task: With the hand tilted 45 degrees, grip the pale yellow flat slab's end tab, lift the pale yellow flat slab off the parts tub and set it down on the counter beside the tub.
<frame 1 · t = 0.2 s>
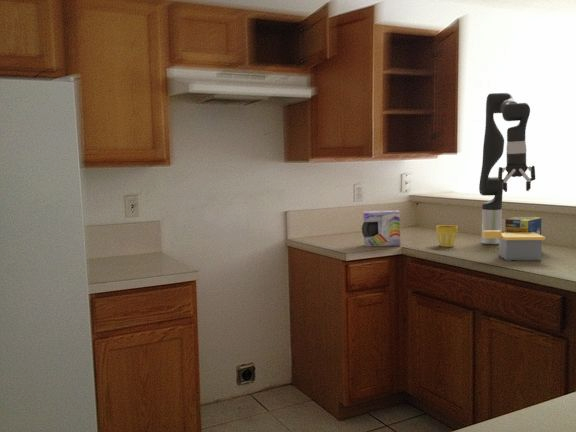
hand: (516, 191, 231), 29 cm above the counter, tool pointing down, fingers open, 8 cm apart
cake pan box: (381, 245, 279), on the counter
plant pot: (446, 246, 273), on the counter
tub: (519, 258, 237), on the counter
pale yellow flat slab: (519, 237, 236), point 9 cm above the counter, touching tub
protein box: (522, 252, 252), on the counter
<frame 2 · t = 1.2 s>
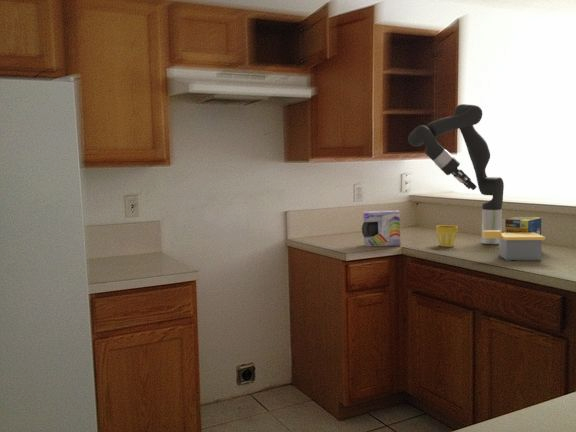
hand: (472, 188, 240), 30 cm above the counter, tool tilted 45°, fingers open, 8 cm apart
nothing on the counter moved.
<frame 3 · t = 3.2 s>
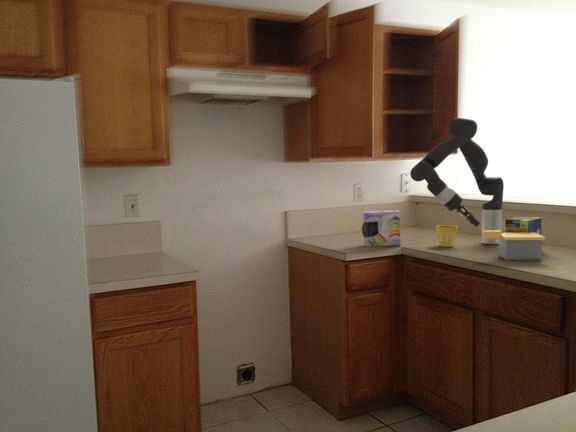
hand: (476, 223, 237), 15 cm above the counter, tool tilted 45°, fingers open, 8 cm apart
nothing on the counter moved.
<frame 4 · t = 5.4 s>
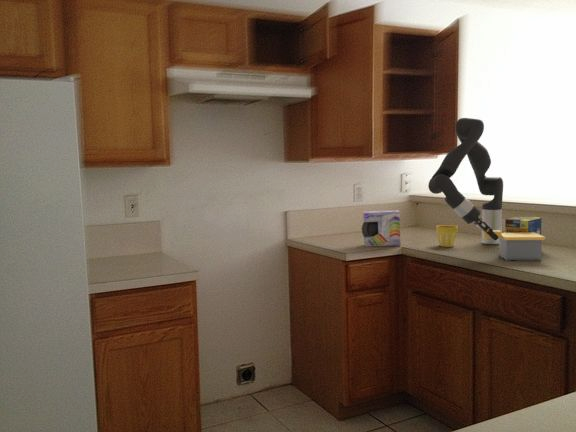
hand: (495, 238, 237), 9 cm above the counter, tool tilted 45°, fingers closed on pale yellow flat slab, 4 cm apart
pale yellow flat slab: (519, 237, 236), point 9 cm above the counter, touching gripper, tub
everything else where it was.
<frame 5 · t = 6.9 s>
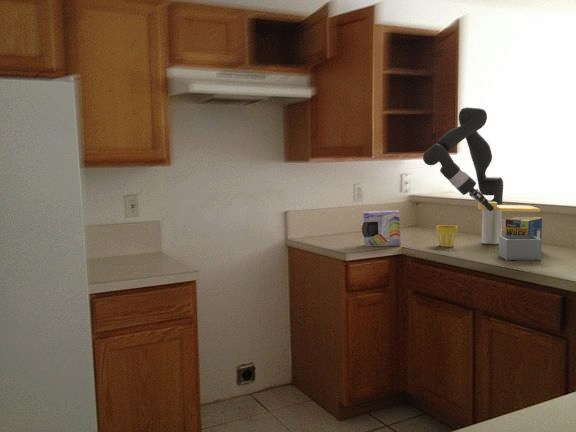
hand: (490, 209, 236), 21 cm above the counter, tool tilted 45°, fingers closed on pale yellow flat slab, 4 cm apart
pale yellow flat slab: (515, 209, 235), point 21 cm above the counter, touching gripper
everything else where it was.
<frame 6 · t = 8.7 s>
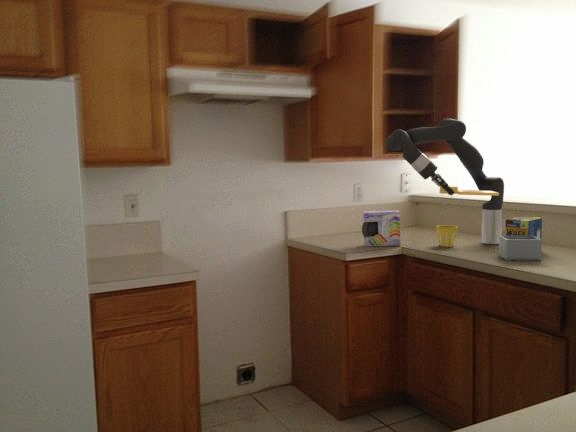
hand: (451, 193, 240), 28 cm above the counter, tool tilted 45°, fingers closed on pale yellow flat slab, 4 cm apart
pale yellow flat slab: (475, 194, 239), point 28 cm above the counter, touching gripper
everything else where it was.
when the fingers open (13 cm above the counter, at t = 11.9 s): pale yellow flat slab drops 13 cm, on the counter.
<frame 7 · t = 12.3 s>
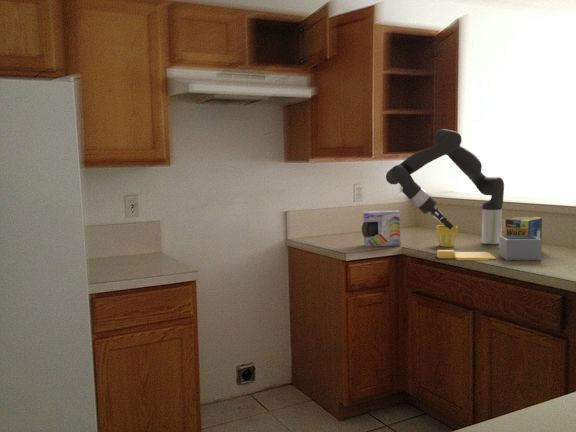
hand: (450, 226, 242), 14 cm above the counter, tool tilted 45°, fingers open, 7 cm apart
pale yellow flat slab: (472, 257, 242), on the counter
everything else where it was.
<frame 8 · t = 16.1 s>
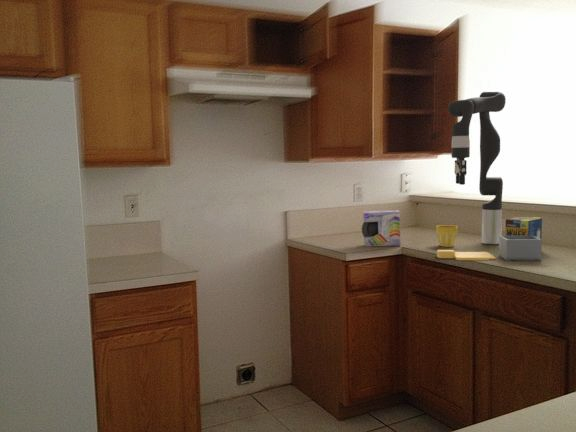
hand: (460, 184, 241), 32 cm above the counter, tool pointing down, fingers open, 8 cm apart
nothing on the counter moved.
at the end: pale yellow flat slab touching counter; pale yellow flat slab on the counter; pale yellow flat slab moved 21.2 cm from its start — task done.
